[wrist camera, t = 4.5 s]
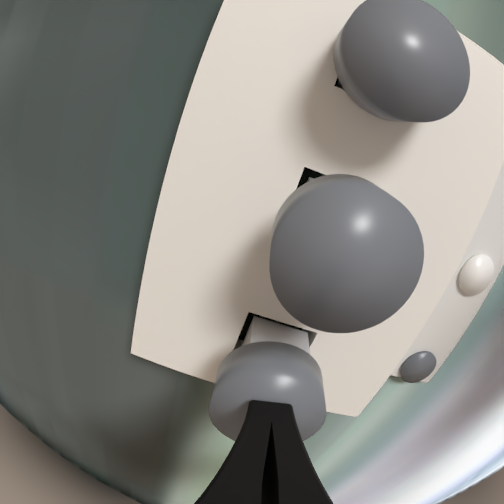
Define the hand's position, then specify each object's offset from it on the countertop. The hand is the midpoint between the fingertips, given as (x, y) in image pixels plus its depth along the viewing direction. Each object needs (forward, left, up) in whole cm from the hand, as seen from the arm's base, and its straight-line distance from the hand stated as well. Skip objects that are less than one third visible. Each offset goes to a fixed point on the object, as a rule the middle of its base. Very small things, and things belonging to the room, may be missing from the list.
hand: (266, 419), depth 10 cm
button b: (0, -6, -4) cm, 7 cm away
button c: (0, 0, -4) cm, 4 cm away
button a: (0, -12, -6) cm, 13 cm away
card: (-9, -6, -6) cm, 12 cm away
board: (0, -6, -6) cm, 8 cm away
